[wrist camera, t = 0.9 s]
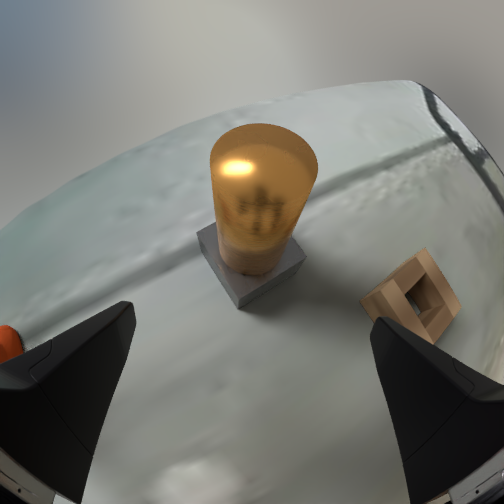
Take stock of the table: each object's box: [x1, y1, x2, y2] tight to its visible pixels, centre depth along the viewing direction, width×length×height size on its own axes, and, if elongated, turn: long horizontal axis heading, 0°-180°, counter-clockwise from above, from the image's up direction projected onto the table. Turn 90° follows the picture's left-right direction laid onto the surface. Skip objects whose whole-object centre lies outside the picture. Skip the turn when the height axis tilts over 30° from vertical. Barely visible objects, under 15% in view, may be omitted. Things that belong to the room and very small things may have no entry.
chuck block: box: [196, 222, 307, 309], centre depth 22 cm, size 6×6×4 cm
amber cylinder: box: [210, 123, 318, 275], centre depth 18 cm, size 5×5×13 cm
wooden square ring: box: [360, 248, 462, 344], centre depth 21 cm, size 7×7×4 cm
